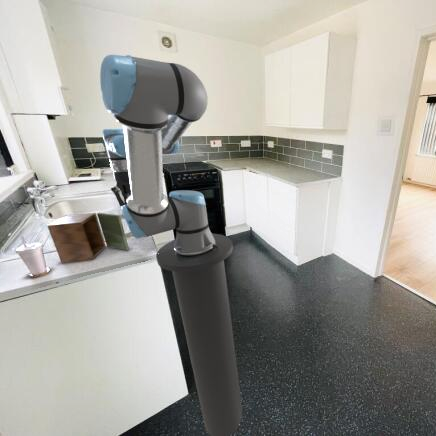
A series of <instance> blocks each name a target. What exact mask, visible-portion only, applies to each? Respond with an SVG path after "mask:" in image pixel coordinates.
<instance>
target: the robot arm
mask: <svg viewBox="0 0 436 436" xmlns="http://www.w3.org/2000/svg"><path fill="white" fill-rule="evenodd" d="M99 72H100V73H99V78H100V79H99V80H100V91H101V94H102V95H101V97H102V101H103V105H104V108H105V109H106V111H107V112H108V113H110V114H113V117H114V119H115V121H116V122H118V123H119V124H121V126H122V128H105V129H102V139H103V141H104V144H105V149H106V151H107V155H108V160H109V162H110V167H111V171H113V172H112V174H113V175H112V176H113V179H114V181H115V186H113V187H111V188H110V190H111V192H112V193H113V194H114V196H115V198H116V200H117V202H118V205H119V207H120V210H121V212H122V213H121V214H123V215H124V218H125V219H124V220H125V222H126V224H127V227H128V229H129V232H131V233H132V235H133V237H134V238H135V239H142V238H149V237H152V236H155V235H159V234H162V233H166V232H169V231H173V230H176V235H175V236H176V237H175V240H176V241H175V247H174V248H175V253H176V254H177V255H179V256H182V257H195V256H200V255H203V254H206V253H208V252H210V251H212V250H213V249H214V248H218V247H217V246H216V243H215V239H214V237H213V235H212V234H213V232H211V229H210V227H209V221H208V212H207V207H206V206H207V203H206V200H205V196H204V194H203V193H202V192H200V191H197V190H188V189H187V190H186V189H185V190H183V189H181V190H172V191H170V192H169V194H168V196H166V195H165V194H164V172H163V171H164V169H163V166H164V165H163V155H171V154H176V153H178V152H179V151H180V142H179V141H180V139H181V138H182V136H183V135H184V134H185V132H186V131H187V130H188V129H189V127H190V126H191V125H192V123H196V122H198V121H199V120H200V119H201V118H202V117H203V116H204V114H205V112H206V111H207V108H208V101H209V100H208V93H207V89H206V87H205V85H204V83H203V81H202V80H201V79H200V77H199V76H198V75H197V74H196V73H195V72H193V71H192V70H191V69H189V68H188V67H186V66H185V65H182V64H179V63H176V62H175V63H174V62H167V61H160V60H155V59H150V58H149V59H148V58H143V57H137V56H131V55H120V54H108V55H106V56H104V57H103V59H102V62H101V64H100V71H99Z"/></svg>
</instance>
